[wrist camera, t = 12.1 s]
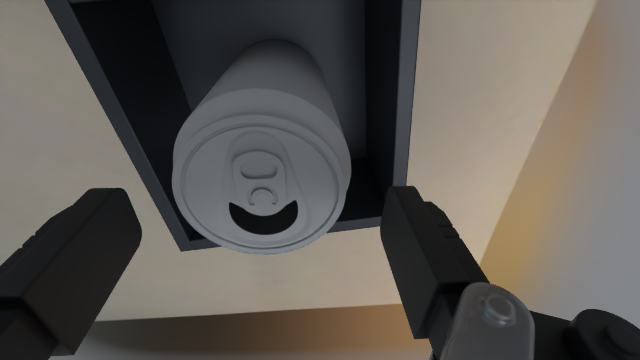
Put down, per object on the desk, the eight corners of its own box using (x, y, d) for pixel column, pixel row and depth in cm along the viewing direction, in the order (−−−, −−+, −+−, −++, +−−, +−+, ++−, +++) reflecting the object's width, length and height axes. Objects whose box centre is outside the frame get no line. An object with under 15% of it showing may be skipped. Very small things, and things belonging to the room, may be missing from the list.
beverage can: (236, 134, 21) (185, 268, 11) (221, 36, 17) (125, 105, 7) (324, 133, 21) (350, 260, 12) (326, 37, 18) (367, 102, 8)
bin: (375, -48, 16) (427, -69, 10) (374, 160, 24) (403, 223, 18) (133, -19, 16) (32, -21, 10) (210, 181, 24) (180, 252, 17)
